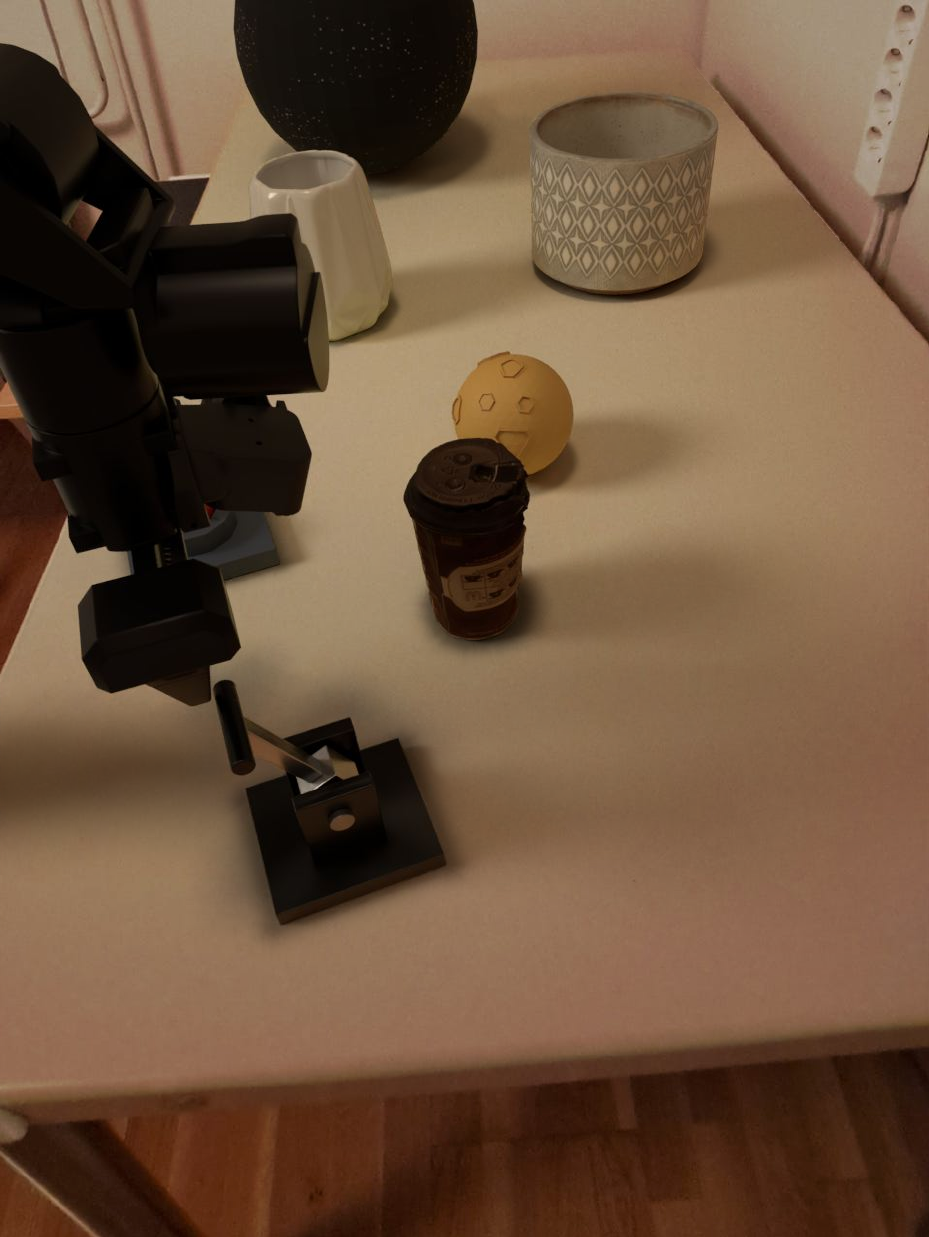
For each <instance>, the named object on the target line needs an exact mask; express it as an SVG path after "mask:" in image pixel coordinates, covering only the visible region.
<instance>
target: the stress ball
mask: <svg viewBox="0 0 929 1237" xmlns="http://www.w3.org/2000/svg"><path fill="white" fill-rule="evenodd" d="M476 365H477V366H476V368H474V369H473V370H472V371H471V372H470V373H469V374H468V375H467V377H466V378H465V380H464V381H463V382H462V384H461V386H460V388H459V390H458V392H457V394H456V397H455V398H454V400H453V402H452V408H451V418H452V420H453V424H454V432H455V435H456V437H457V438H456V439H465V438H490V439H493V440H494V441H496V442H497V443H501V444H502V445H504V446H505V447H506V448H507V449H508V451H510V452H511V453H512V454H513V455H514V456H515V457H516V458H518V459H519V460H520V461H521V463H522V464H523V465H524V469H525V470H526V472H527V474H528V476H529V475H532V474H535V473H537V472H540V471H542V470H543V469H544V468H546V467H548V466H549V465H550V464H552V463H553V462H554V461H555V460H556V459H557V458H558V457H559V456H560V454H561V453H562V452H563V451H564V448H566V446H567V443H568V441H569V439H570V436H571V434H572V430H573V425H574V405H573V400H572V396H571V393H570V390H569V387H568V386H567V385H566V382H565V381H564V379H563V378H562V376H560V374H559V373H558V372H557V371H556V370H555V369H554V368H552V367H551V366H550V365H549V364H547V363H546V362H544V361H542V360H541V359H538V358H536V357H533V356H530V355H526V354H519V353H511V352H510V351H509V350H507V351H503V352H498V353H495V354H493V355H490V356H488V357H485V358H482V360H479V361H478V362H477V363H476Z"/></svg>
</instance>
